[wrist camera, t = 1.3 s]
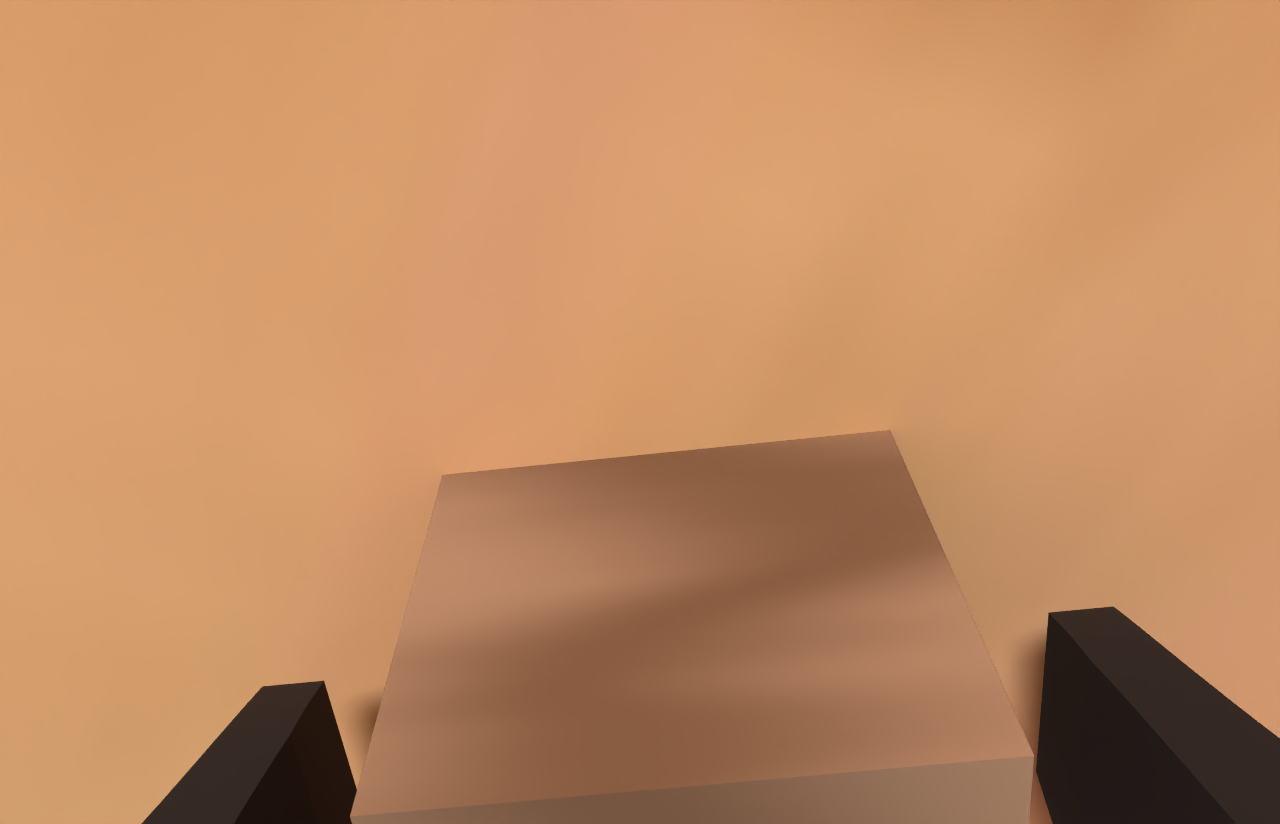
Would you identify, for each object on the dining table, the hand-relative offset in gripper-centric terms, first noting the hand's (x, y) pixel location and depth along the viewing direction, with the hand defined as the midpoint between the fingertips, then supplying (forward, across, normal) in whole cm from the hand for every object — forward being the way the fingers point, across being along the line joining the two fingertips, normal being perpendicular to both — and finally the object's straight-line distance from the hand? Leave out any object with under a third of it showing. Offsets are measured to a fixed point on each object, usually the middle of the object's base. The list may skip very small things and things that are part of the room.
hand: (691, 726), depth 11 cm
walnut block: (+2, 0, 0) cm, 2 cm away
